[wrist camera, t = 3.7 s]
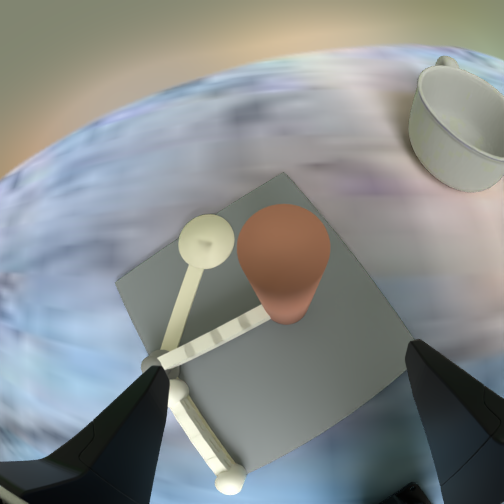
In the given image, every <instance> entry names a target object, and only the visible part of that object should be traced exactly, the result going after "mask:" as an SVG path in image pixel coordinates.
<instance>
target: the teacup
mask: <svg viewBox="0 0 504 504" xmlns="http://www.w3.org/2000/svg"><path fill="white" fill-rule="evenodd" d="M408 129H409V138H410V142H411V145H412V147H413V150H414V152H415V154H416V156H417V157H418V159H419V160H420V162H421V163H422V164H423V166H424V167H425V168H426V169H427V170H428V171H429V172H430V173H431V174H432V175H433V176H434V177H436V178H437V179H438V180H440V181H441V182H442V183H444V184H446V185H448V186H449V187H452V188H454V189H457V190H460V191H464V192H480V191H483V190H486V189H488V188H490V187H491V186H493V185H494V184H495V183H497V182H498V181H499V180H500V179H501V178H502V177H503V176H504V96H503V95H502V94H501V93H500V92H499V91H498V90H497V89H495V88H494V87H493V86H492V85H490V84H489V83H488V82H486V81H485V80H483V79H481V78H480V77H478V76H476V75H474V74H472V73H469V72H467V71H465V70H462V69H459V66H458V64H457V62H456V61H455V60H454V59H453V58H451V57H448V56H441V57H439V59H438V60H437V62H436V65H435V66H431V67H429V68H426V69H425V70H423V71H422V72H421V74H420V75H419V77H418V81H417V90H416V93H415V97H414V100H413V104H412V108H411V113H410V117H409V125H408Z"/></svg>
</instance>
